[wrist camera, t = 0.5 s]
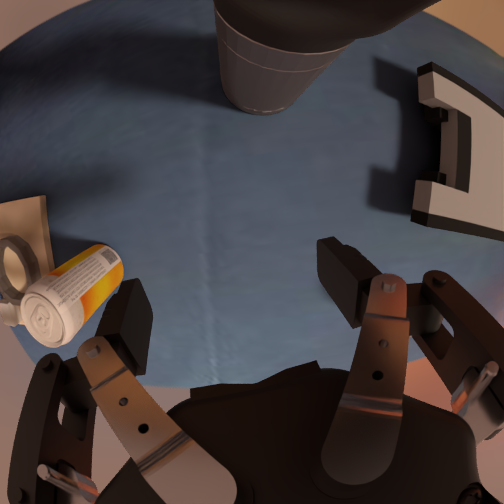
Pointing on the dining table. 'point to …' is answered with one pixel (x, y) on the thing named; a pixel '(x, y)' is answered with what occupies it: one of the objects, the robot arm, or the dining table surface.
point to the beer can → (70, 295)
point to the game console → (461, 158)
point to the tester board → (30, 231)
